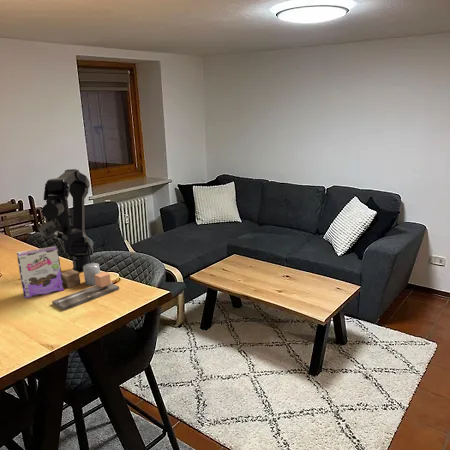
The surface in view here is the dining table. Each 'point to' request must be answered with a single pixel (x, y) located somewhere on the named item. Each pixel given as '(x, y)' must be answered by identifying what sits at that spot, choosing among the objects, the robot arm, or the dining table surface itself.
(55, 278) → the candy box
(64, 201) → the robot arm
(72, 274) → the walnut block
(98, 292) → the board
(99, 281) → the peach cube
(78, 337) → the dining table surface
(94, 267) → the grey rounded cylinder
